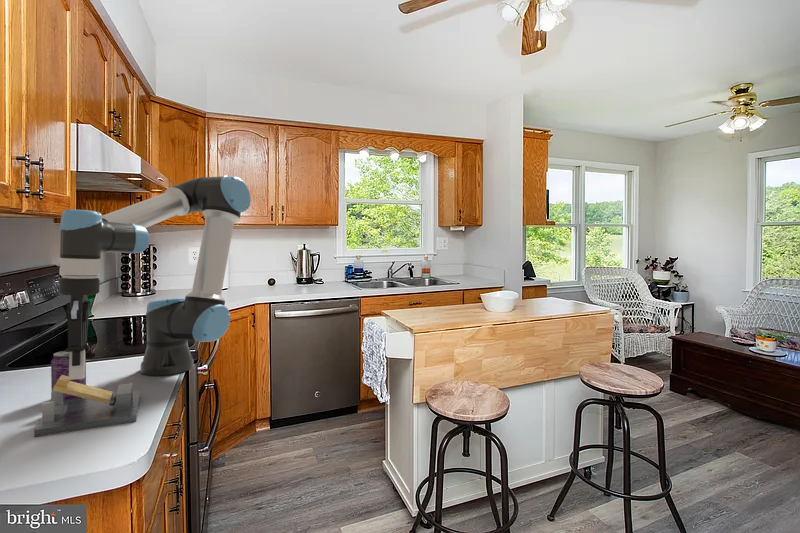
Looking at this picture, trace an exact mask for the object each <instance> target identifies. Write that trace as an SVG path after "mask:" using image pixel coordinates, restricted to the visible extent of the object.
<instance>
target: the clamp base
mask: <svg viewBox="0 0 800 533" xmlns="http://www.w3.org/2000/svg"><path fill="white" fill-rule="evenodd" d="M133 386H134V384H133V382H129V383H122V384H119V385H118V386H117V391H116V392H117V393H116V403H115V405H113V406H110V405H109V403H110V400H111V398H110V400H109V402H108V404H107V403H103V402H99V401H94V400H90V399H86V398H82V397H80V398H78V399H72V400H64V401H63V393H61V392H57V391H52V392H51V391H50V400H51V401H43V402H42V404H41V410H42V411H41V417H42V418H41V420H40V421H39V423H38V424H37V425H36V426H35V428H34V430H33V437H34V438H39V437H46V436H53V435H58V434H64V433H70V432H77V431H84V430H89V429H95V428H103V427H108V426H109V427H110V426H115V425H121V424H123V425H124V424H128V423H134V422H137V420H138V419H137V418H138V414H139V413H138V412H139V405H140V400H141V390H137V391H133V389H134V388H133ZM111 397H112V395H111Z"/></svg>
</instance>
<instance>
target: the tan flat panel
mask: <svg viewBox="0 0 800 533" xmlns="http://www.w3.org/2000/svg"><path fill="white" fill-rule="evenodd" d="M52 390H53V391H57V392H61V393H65V394H69V395H74V396H78V397H80V398H86V399H90V400H94V401H99V402H103V403H107V404H108V402H109V400H110V398H111V400H110V403H109V405H110V406H113V405H115V403H116V393H117V391H111V390H106V389H104V388H103V389H102V388H101V387H100V388H99V387H96V386H91V385H87V384H86V385H84V384H80V383H76V382H72V381H70V380H69V376H65V375H61V377H60V378H59V379H58V381H57V383H56V385H55V386H54V388H53V389H52ZM111 395H112V397H111Z"/></svg>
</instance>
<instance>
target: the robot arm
mask: <svg viewBox="0 0 800 533" xmlns="http://www.w3.org/2000/svg"><path fill="white" fill-rule="evenodd" d="M250 192H251V191H250V190H249V187H248V185H247V183H246V182H245V181H244V180H243V179H241V178H240V177H239V176H233V175H230V176H229V175H223V176H201V177H195V178H192V179H189V180H187V181H183V182H182V183H178V184H176V185H174V186H171V187H168V188H167V189H166V190H165V191H164V193H163V192H162V194H159V195H155V196H153V197H150V198H147V199H145V200H142V201H139V202H137V203H134V204H130V205H128V206H125V207H121V208H120V209H117V210H114V211H112V212H108V213H106V214H103V215H102V213H101V212H99V211H95V210H87V209H76V208H75V209H71V208H70V209H65V210H63V211H62V213H61V218H60V225H59V231H60V232H59V261H57V262H56V264H55V265H56V266H57V267H59V272H58V273H59V276H62V277H59V279H58V293H59V295H64V296H70V301H68V302H67V303H66V312H65V315H66V318H67V348H65V350H64V351H65V352H70V355H69V380H73V379H83V378H84V375H85V357H86V350H87V349H89V348H90V345H88V329H89V327H88V326H89V318H90V308H91V303H92V302H91V301H88V299H89V298H88V296H90V295H96V294H97V295H98V294H99V293H100V286H101V285H100V284H101V282H100V281H101V280H100V278H98V277H99V276H100V275H101V264H102V263H101V262H102V261H101V260H102V259H101V257H102V254H101V253H121V254H123V253H124V254H136V253H137V254H139V253H142V252H144V251H146V250H147V249H148V247H149V245H150V233H149V231H148V230H147V228H149V227H152V226H154V225H156V224H158V223H161V222H164V221H165V220H168V219H171V218H173V217H175V216H181V217H182V216H185V215H188V214H192V213H202V215H203V217H204V218H205V220H204V226H203V231H202V237H201V242H200V248H199V252H198V258H197V262H196V268H195V273H194V278H193V279H194V280H193V284H192V289H191V291H190V292H189V293H187V294H186V295H185V296H183V297H173V298H172V297H171V298H165V299H164V298H163V299H157V300H151V301H148V303H147V305H146V312H145V319H146V320H145V322H146V325H145V326H146V348H145V351H144V355H143V360H142V361H141V363H140V369H139V370H140V373H141V374H142V375H146V376H153V377H155V376H157V377H159V376H169V375H170V376H171V375H175V374H176V375H178V374H181V373H185V372H187V371H190V370H192V369H193V368H194V362H195V361H194V358H193V356H192V355H191V350H190V347H189V343H188V342H189V341H193V342H195V341H196V342H199V343H205V342H207V343H211V342H215V341H218V340H219V339H221V337H222V336H224V335H225V334H226V333H227V330H228V329H229V327H230V322H231V314H230V310H229V308H228V307H227V306H225V304H226V299H225V298H224V297H223V295H222V292H223V287H224V283H225V282H224V281H225V276H226V271H227V270H226V269H227V265H228V260H229V253H230V249H231V242H232V235H233V230H234V225H235V224H236V223H238V221H240V219H241V214H242V213H243V212H246V211H247V210H249V208H250V206H251V200H252V198H251V193H250Z"/></svg>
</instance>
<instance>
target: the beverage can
mask: <svg viewBox="0 0 800 533" xmlns="http://www.w3.org/2000/svg"><path fill="white" fill-rule="evenodd" d="M69 355H70V352H65V350H62V351H58V352H55V353H53V358H52V359H51V361H50V371H51V372H50V374H51V375H50V376H51V377H50V380H51V383H50V384H51V388H50V389H51V390H50V393H51V392H52V391H53V390H52V389H53V388H54V386H55V385H56V383H57V381H58V379H59V378H60V377H61V375H65V376H69ZM86 359H87V358H86V356H85V375H84V378H83V379H73V380H70V381H72V382H76V383H80V384H84V385H87V367H86V366H87V364H86V363H87V362H86ZM80 398H81V397H78V396H74V395H69V394H65V393H63V401H64V400H72V399H80Z"/></svg>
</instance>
